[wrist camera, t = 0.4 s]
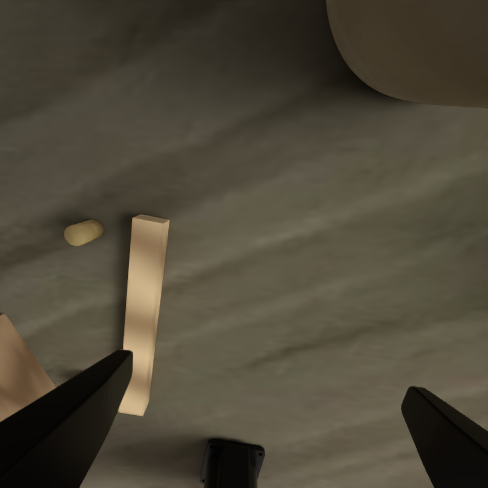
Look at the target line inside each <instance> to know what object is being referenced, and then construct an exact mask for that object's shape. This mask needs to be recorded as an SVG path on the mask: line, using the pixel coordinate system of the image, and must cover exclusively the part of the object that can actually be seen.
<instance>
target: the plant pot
mask: <svg viewBox="0 0 488 488" xmlns="http://www.w3.org/2000/svg"><path fill="white" fill-rule="evenodd" d="M326 6H327V14H328V19H329V24H330V28H331V31H332V34H333V37H334V40H335V43H336V45H337V48H338V49H339V51H340V53H341V55H342V57H343V59H344V60H345V62H346V63H347V65H348V66H349V67H350V69H351V70H352V71H353V72H354V73H355V74H356V75H357V76H358V77H359V78H360V79H361V80H362V81H363V82H364V83H366V84H367V85H368V86H370V87H371V88H373V89H375V90H376V91H378V92H380V93H382V94H385V95H387V96H390V97H394V98H397V99H401V100H405V101H411V102H416V103H422V104H432V105H443V106H462V107H480V108H488V0H326Z"/></svg>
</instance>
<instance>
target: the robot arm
mask: <svg viewBox="0 0 488 488" xmlns="http://www.w3.org/2000/svg"><path fill="white" fill-rule="evenodd" d="M132 373H133V352H132V351H131V350H124V349H119V350H117V351H115V352H113V353H112V354H110V355H109V356H107V357H105V358H104V359H102V360H100V361H99V362H97V363H95V364H94V365H92V366H91V367H89V368H87V369H86V370H84V371H82V372H81V373H79V374H78V375H76V376H74V377H73V378H71V379H69V380H68V381H66V382H64V383H63V384H61V385H60V386H58V387H56V388H55V389H53V390H51V391H50V392H48V393H46V394H45V395H43V396H42V397H40V398H38V399H37V400H35V401H33V402H32V403H30V404H29V405H27V406H25V407H24V408H22V409H20V410H19V411H17V412H15V413H14V414H12V415H11V416H9V417H7V418H6V419H4V420H2V421H1V422H0V488H79V487H80V485H81V483H82V482H83V480H84V478H85V476H86V474H87V472H88V470H89V468H90V467H91V465H92V463H93V461H94V459H95V457H96V455H97V453H98V452H99V450H100V448H101V446H102V444H103V442H104V440H105V438H106V436H107V434H108V432H109V430H110V428H111V425H112V423H113V421H114V418H115V416H116V414H117V411H118V409H119V407H120V404H121V402H122V399H123V397H124V395H125V392H126V390H127V388H128V385H129V383H130V380H131V377H132ZM401 410H402V414H403V417H404V419H405V422H406V424H407V426H408V429H409V431H410V434H411V436H412V439H413V441H414V444H415V446H416V448H417V451H418V453H419V456H420V458H421V461H422V463H423V465H424V467H425V470H426V472H427V474H428V476H429V478H430V480H431V482H432V484H433V486H434V488H488V431H487V430H485V429H484V428H482V427H481V426H479V425H478V424H476V423H475V422H473V421H472V420H471V419H469V418H468V417H466V416H465V415H463V414H462V413H460V412H459V411H457V410H456V409H454V408H453V407H452V406H450V405H449V404H447V403H446V402H444V401H443V400H441V399H440V398H438V397H437V396H436V395H434V394H433V393H431V392H430V391H428V390H427V389H425V388H423V387H416V386H411V387H409V388H408V390H407V392H406V395H405V397H404V400H403V402H402V405H401ZM264 456H265V450H264V448H262V447H257V446H250V445H243V444H237V443H230V442H224V441H217V440H209V441H208V444H207V448H206V453H205V458H204V462H203V467H202V472H201V477H200V482H201V483H204V488H257V479H258V476H259V472H260V469H261V466H262V463H263V459H264Z"/></svg>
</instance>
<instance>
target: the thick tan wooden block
mask: <svg viewBox="0 0 488 488" xmlns="http://www.w3.org/2000/svg"><path fill="white" fill-rule="evenodd" d="M55 388H56V387H55V386H54V384H53V383H52V381H51V380H50V378H49V377H48V375H47V374H46V373H45V371H44V370H43V368H42V367H41V365H40V364H39V362H38V361H37V360H36V358H35V357H34V355H33V354H32V352H31V351H30V349H29V348H28V347H27V345H26V344H25V342H24V341H23V339H22V338H21V336H20V335H19V334H18V332H17V331H16V329H15V328H14V326H13V325H12V323H11V322H10V321H9V319H8V318H7V316H6V315H5V313H4V314H1V315H0V422H1V421H2V420H4V419H6V418H7V417H9V416H11V415H12V414H14V413H15V412H17V411H19V410H20V409H22V408H24V407H25V406H27V405H29V404H30V403H32V402H33V401H35V400H37V399H38V398H40V397H42V396H43V395H45V394H46V393H48V392H50V391H51V390H53V389H55Z"/></svg>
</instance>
